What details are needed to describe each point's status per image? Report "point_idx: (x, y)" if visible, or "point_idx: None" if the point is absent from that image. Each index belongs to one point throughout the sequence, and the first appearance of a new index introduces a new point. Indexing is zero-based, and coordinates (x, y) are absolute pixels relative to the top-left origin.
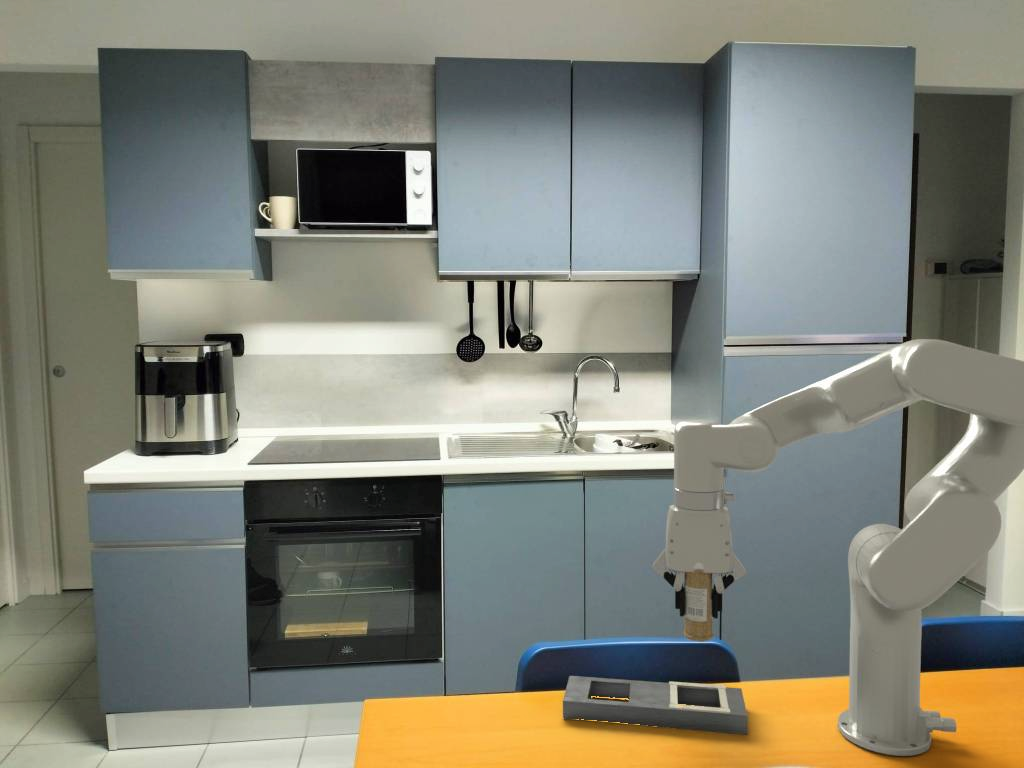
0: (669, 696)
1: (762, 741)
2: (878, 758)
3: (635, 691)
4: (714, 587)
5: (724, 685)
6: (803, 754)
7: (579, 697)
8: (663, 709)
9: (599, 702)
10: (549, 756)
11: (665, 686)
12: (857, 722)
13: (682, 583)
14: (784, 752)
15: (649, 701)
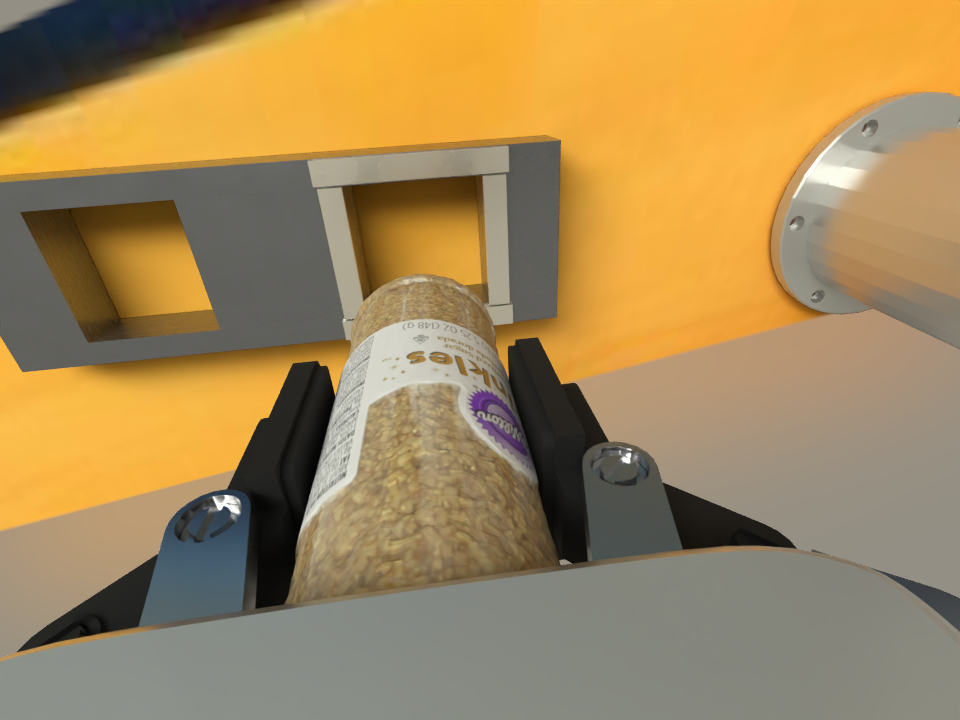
0: (331, 262)
1: (574, 315)
2: (799, 319)
3: (214, 257)
4: (566, 544)
5: (505, 145)
6: (651, 344)
7: (59, 342)
8: (330, 340)
9: (136, 353)
10: (130, 487)
11: (302, 192)
12: (825, 266)
13: (275, 541)
14: (613, 347)
15: (279, 310)
